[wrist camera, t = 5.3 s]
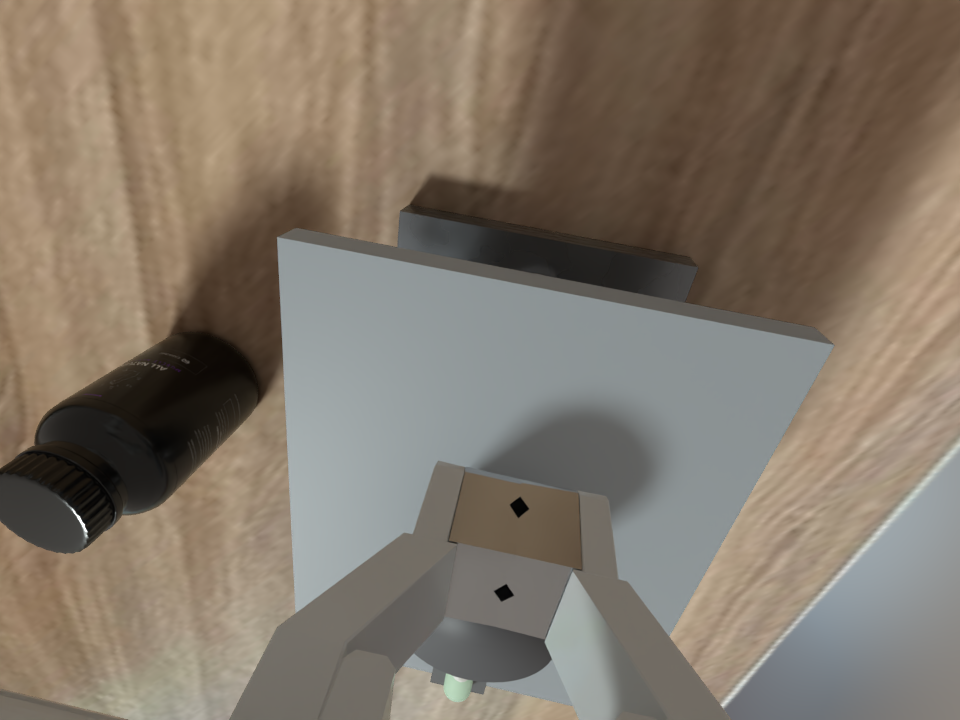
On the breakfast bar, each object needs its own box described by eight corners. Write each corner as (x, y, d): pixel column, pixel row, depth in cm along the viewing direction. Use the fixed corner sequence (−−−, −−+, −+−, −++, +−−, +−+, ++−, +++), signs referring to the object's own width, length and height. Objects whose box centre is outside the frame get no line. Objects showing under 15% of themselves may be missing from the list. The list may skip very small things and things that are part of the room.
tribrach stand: (408, 204, 24) (338, 256, 16) (690, 257, 24) (755, 337, 16) (388, 473, 33) (335, 591, 25) (592, 517, 32) (603, 652, 25)
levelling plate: (305, 223, 16) (185, 281, 11) (805, 319, 15) (932, 430, 10) (313, 607, 25) (252, 734, 20) (618, 678, 25) (634, 828, 20)
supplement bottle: (198, 306, 29) (-5, 426, 18) (283, 388, 31) (143, 538, 20) (140, 364, 32) (-66, 496, 21) (222, 436, 34) (71, 589, 23)
